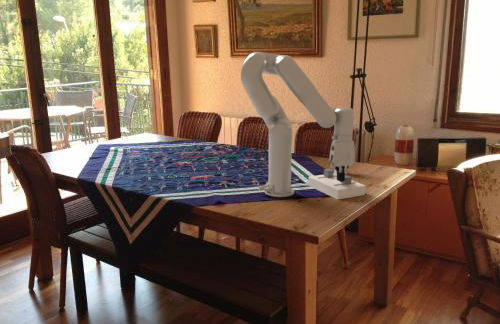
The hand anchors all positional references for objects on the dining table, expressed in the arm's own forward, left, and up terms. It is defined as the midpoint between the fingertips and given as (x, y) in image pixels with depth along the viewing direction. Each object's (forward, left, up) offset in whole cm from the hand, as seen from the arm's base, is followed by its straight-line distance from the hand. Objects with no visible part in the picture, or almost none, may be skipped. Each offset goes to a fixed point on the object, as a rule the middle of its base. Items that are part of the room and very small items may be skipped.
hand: (340, 180), depth 192 cm
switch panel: (+2, +5, -6) cm, 8 cm away
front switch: (+3, 0, -1) cm, 3 cm away
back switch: (+3, +12, -1) cm, 13 cm away
